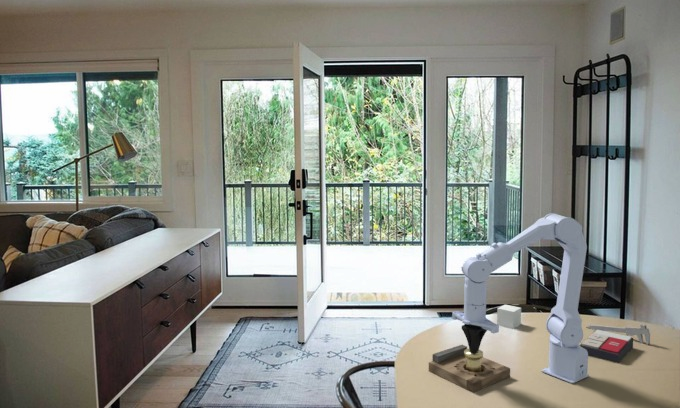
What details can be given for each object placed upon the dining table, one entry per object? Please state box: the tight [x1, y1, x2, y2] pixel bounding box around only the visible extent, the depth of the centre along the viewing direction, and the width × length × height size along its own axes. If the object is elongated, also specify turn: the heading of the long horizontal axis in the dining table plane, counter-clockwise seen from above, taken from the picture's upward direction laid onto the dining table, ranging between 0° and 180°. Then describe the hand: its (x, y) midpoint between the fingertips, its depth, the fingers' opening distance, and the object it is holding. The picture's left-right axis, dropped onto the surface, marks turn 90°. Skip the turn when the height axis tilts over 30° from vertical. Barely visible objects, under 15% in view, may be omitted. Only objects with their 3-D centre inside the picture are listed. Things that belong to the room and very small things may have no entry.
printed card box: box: [579, 330, 634, 364], centre depth 162 cm, size 11×4×15 cm
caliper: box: [585, 324, 651, 346], centre depth 174 cm, size 20×1×6 cm, turn 36°
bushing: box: [464, 348, 484, 372], centre depth 145 cm, size 5×5×7 cm
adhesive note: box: [496, 304, 522, 329], centre depth 186 cm, size 6×6×6 cm
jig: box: [428, 344, 511, 393], centre depth 147 cm, size 16×15×4 cm
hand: (474, 351), depth 145 cm, fingers closed
